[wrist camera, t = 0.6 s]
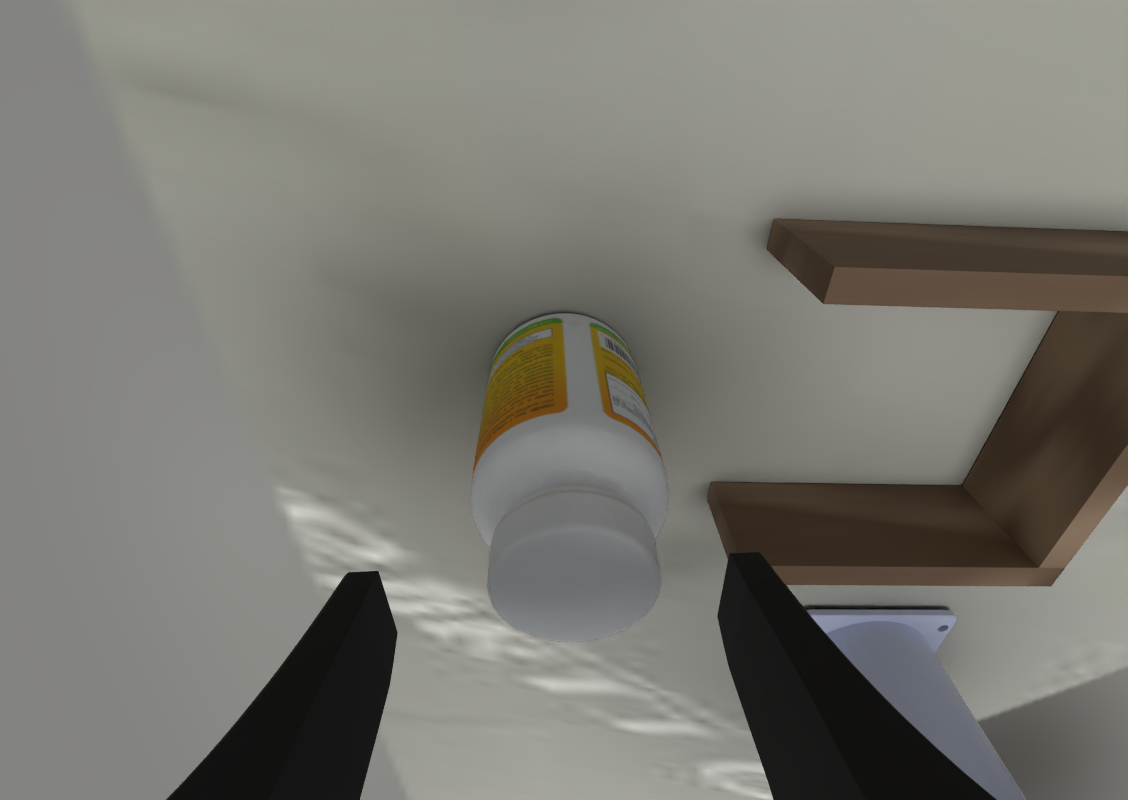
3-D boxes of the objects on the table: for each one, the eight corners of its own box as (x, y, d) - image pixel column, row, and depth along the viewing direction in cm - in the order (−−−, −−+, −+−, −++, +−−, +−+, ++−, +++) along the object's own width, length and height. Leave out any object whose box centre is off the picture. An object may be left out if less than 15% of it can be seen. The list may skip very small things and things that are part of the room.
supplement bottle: (483, 426, 22) (447, 654, 14) (498, 298, 19) (463, 490, 11) (617, 442, 23) (658, 669, 15) (651, 320, 20) (725, 518, 12)
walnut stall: (974, 503, 25) (1051, 586, 21) (707, 499, 25) (736, 584, 21) (1132, 231, 19) (1281, 281, 15) (774, 218, 18) (834, 266, 14)
